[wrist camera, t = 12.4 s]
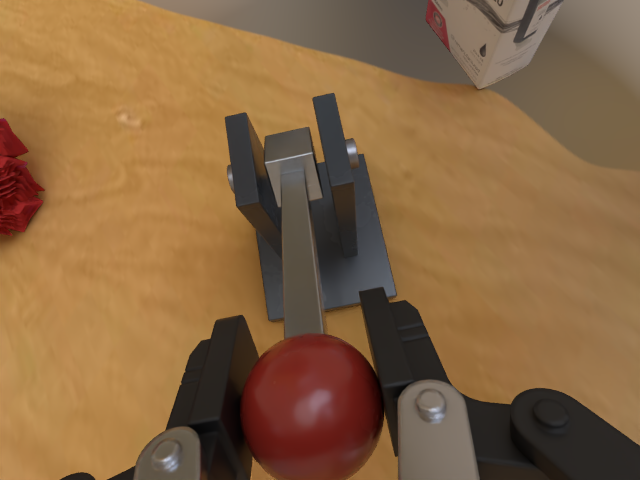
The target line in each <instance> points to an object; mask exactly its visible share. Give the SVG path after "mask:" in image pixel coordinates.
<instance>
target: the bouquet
mask: <svg viewBox="0 0 640 480" xmlns="http://www.w3.org/2000/svg"><path fill="white" fill-rule="evenodd" d="M27 152H29V151H28V149H27V148H26V147H25V146H24V145H23V143H22V142H21V141H20V140H19V139H18V138H17V137H16V135H15V134H14V133H13V132H12V130H11V128H10V126H9V124H8V122H7V121H6V120H5V119H4V118H2V119H0V234H5V235H11V236H12V234H11V233H10V231H9V230H8V229H11V230H16V231H21V232H24V231H25V229H26V226H27V224H28V222H29V219H30V218H31V217H32V216H33V214H34V213H35V212H36V210H37V209H38V208H39V207H40V205H41V204H42V202H43V201H42V200H40V199H38V198H36V197H34V195H39V194H38V193H37V191H45V190H44V189H43V188H42V187H41V186H39V185H38V184H37V183H36V182H35V181H34V180H33V178H32V176H31V174H30V173H29V171H28V169H27V168H26V167H25V166H26V165H27V162H25V161H22V160H19V159H16V158H15V157H17V156H20V155H22V154H24V153H27Z"/></svg>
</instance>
